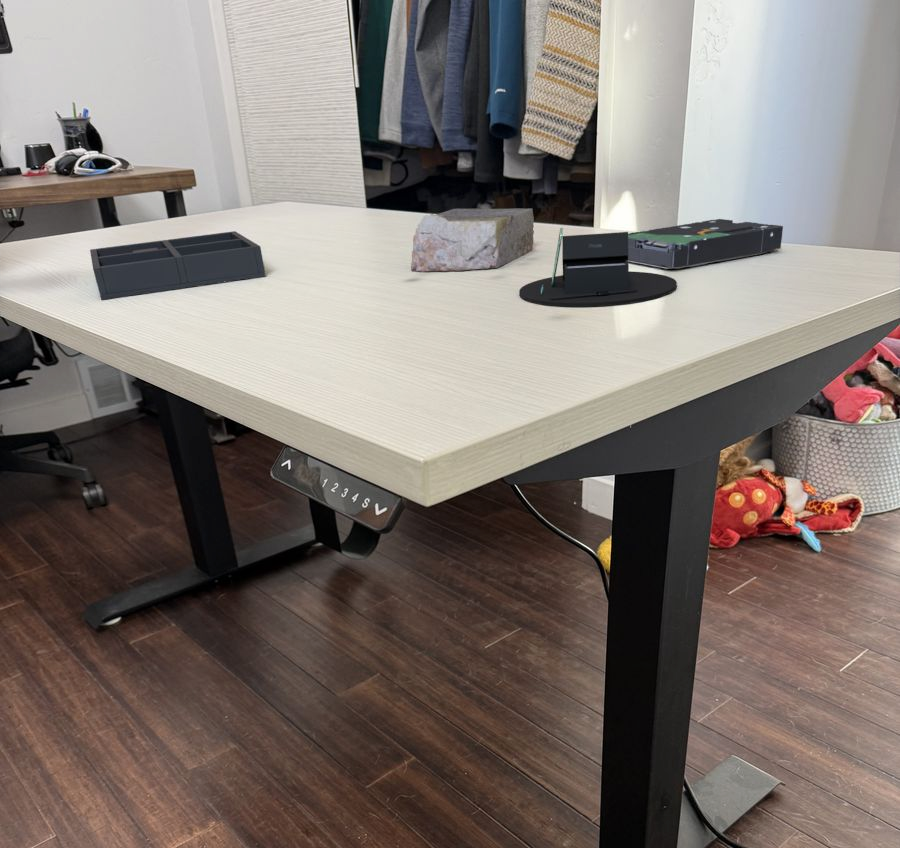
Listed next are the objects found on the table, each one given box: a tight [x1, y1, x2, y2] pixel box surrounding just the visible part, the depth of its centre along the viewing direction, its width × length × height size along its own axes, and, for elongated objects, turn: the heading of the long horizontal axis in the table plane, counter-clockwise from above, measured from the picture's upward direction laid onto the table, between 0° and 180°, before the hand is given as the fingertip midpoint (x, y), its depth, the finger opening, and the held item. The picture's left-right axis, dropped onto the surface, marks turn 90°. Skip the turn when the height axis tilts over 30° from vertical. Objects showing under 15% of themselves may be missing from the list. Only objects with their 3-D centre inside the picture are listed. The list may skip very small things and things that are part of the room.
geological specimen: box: [410, 207, 535, 273], centre depth 103 cm, size 11×6×15 cm
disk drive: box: [628, 218, 784, 270], centre depth 94 cm, size 10×3×15 cm
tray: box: [89, 230, 266, 301], centre depth 110 cm, size 19×19×4 cm
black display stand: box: [518, 227, 678, 308], centre depth 82 cm, size 15×15×6 cm
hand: (2, 51), depth 103 cm, fingers open, 8 cm apart
